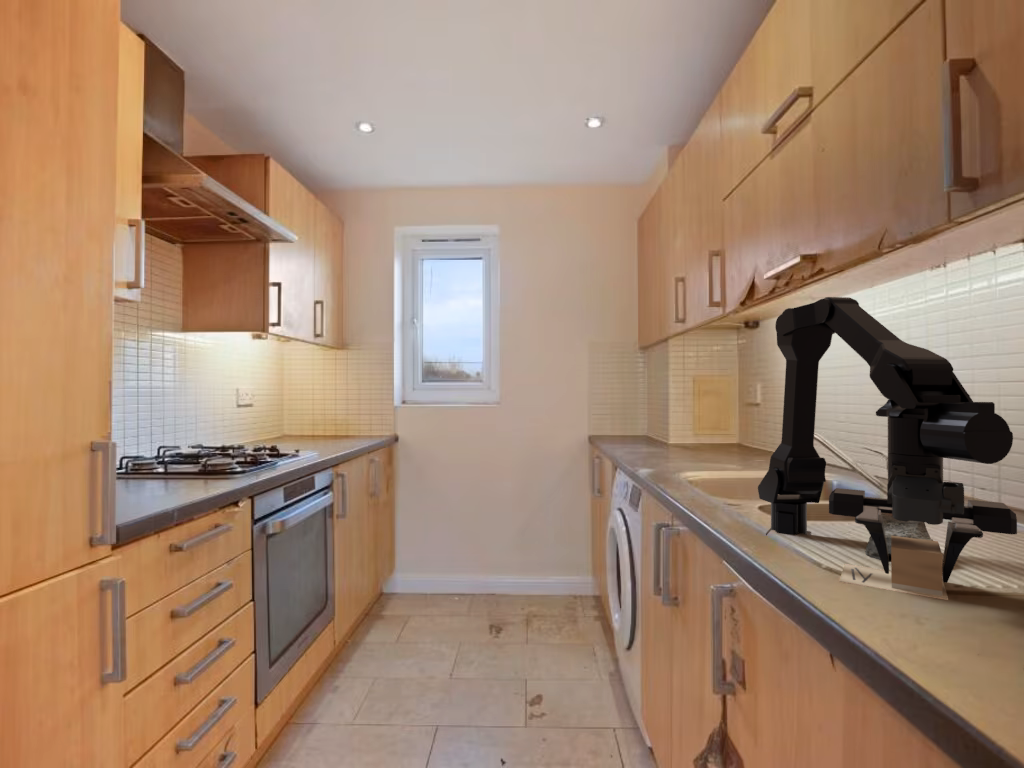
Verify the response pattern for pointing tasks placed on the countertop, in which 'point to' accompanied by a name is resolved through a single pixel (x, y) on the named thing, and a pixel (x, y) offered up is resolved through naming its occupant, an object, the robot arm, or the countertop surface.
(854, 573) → the birch board
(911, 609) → the countertop surface
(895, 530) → the rock
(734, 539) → the countertop surface
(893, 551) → the block
